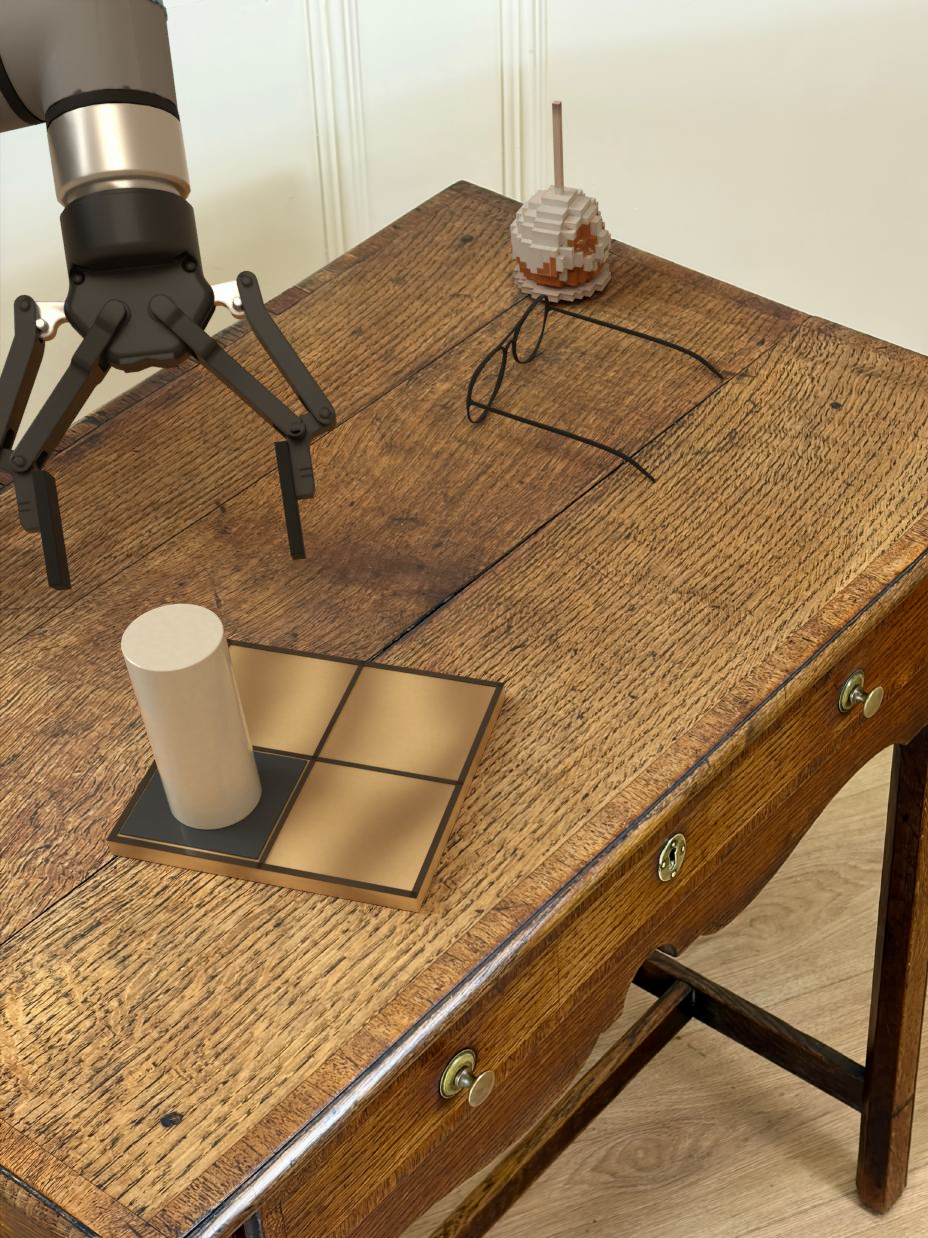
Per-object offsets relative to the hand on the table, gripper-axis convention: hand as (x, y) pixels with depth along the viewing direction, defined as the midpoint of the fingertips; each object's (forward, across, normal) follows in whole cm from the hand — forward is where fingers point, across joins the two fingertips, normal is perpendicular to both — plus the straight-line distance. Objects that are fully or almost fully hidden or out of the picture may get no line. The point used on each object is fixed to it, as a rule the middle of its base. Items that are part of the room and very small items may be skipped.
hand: (180, 573), depth 91 cm
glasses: (-11, -29, -24) cm, 39 cm away
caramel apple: (-24, -30, -37) cm, 53 cm away
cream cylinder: (+13, 0, +2) cm, 13 cm away
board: (+13, -6, 0) cm, 14 cm away
